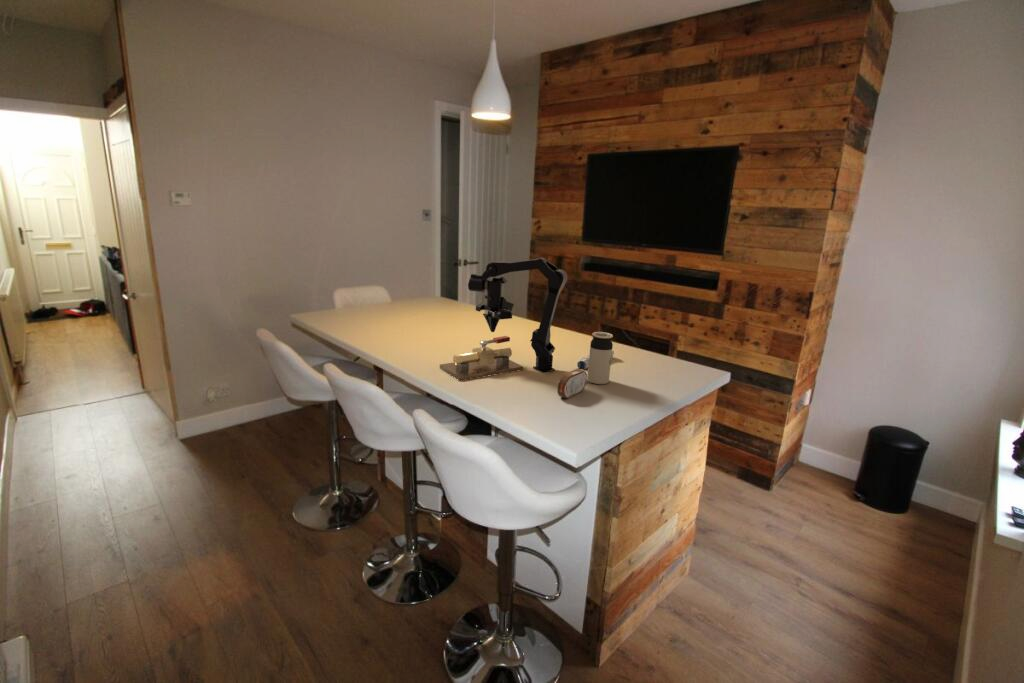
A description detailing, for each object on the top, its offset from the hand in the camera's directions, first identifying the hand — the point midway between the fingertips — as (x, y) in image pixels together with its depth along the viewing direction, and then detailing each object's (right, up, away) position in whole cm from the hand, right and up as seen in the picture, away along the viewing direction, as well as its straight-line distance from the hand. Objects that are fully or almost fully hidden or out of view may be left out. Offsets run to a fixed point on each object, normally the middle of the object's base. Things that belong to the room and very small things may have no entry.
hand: (492, 331), depth 194 cm
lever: (+1, -4, -7) cm, 8 cm away
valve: (-3, -15, -8) cm, 17 cm away
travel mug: (+40, -19, -14) cm, 46 cm away
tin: (+28, -22, -29) cm, 46 cm away
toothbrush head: (+43, -13, +8) cm, 46 cm away
